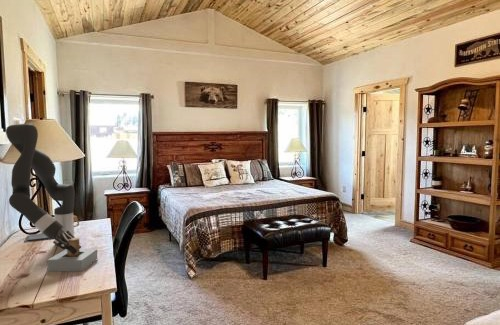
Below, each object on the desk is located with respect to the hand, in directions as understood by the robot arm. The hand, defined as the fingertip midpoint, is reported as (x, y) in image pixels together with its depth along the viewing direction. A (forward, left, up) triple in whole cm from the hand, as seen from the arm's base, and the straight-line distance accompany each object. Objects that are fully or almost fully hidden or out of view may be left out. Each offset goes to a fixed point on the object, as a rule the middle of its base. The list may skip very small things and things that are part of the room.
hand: (77, 250), depth 151 cm
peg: (0, -2, -4) cm, 5 cm away
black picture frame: (-44, -42, -8) cm, 61 cm away
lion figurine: (-69, -42, -7) cm, 81 cm away
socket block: (0, -2, -7) cm, 7 cm away
